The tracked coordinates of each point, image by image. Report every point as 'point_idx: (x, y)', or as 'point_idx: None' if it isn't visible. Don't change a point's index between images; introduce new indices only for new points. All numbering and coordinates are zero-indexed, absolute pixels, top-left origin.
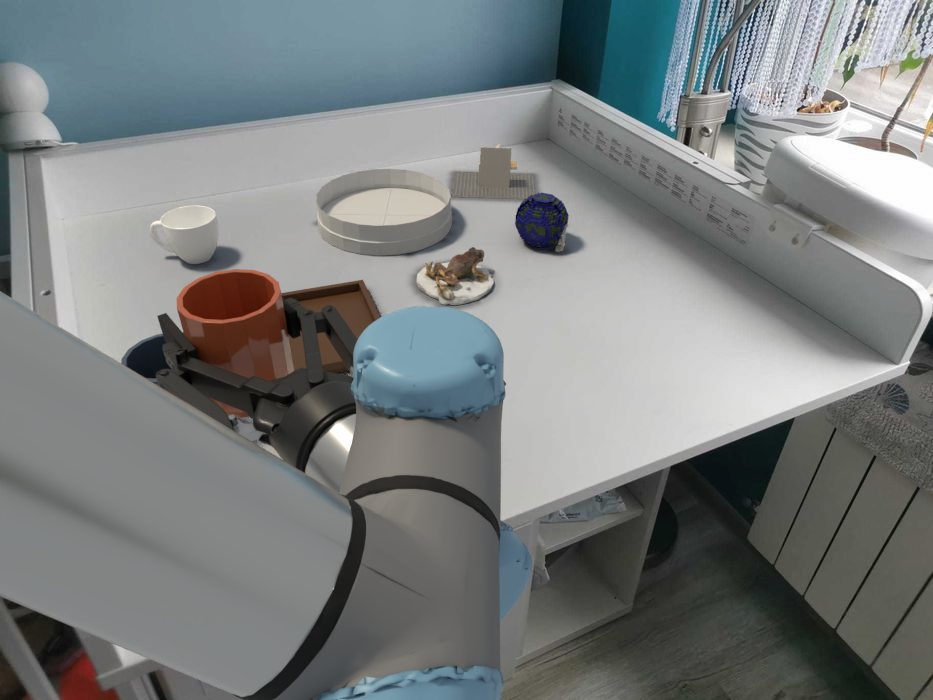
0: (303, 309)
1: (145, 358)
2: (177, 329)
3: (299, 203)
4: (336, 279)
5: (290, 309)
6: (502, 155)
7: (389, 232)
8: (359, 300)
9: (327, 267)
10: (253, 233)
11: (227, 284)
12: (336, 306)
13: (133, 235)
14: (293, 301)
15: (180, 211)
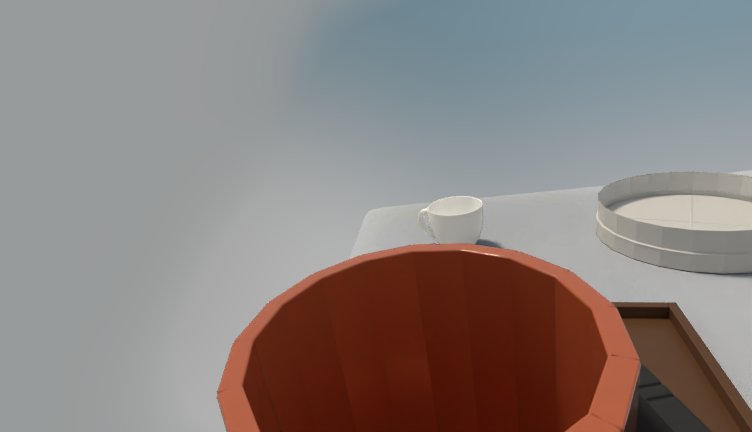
0: (696, 428)
1: None
2: None
3: (572, 206)
4: (626, 295)
5: (649, 425)
6: None
7: (713, 241)
8: (671, 334)
9: (610, 277)
10: (519, 230)
11: (437, 284)
12: (631, 336)
13: (410, 223)
14: (641, 376)
15: (449, 201)
